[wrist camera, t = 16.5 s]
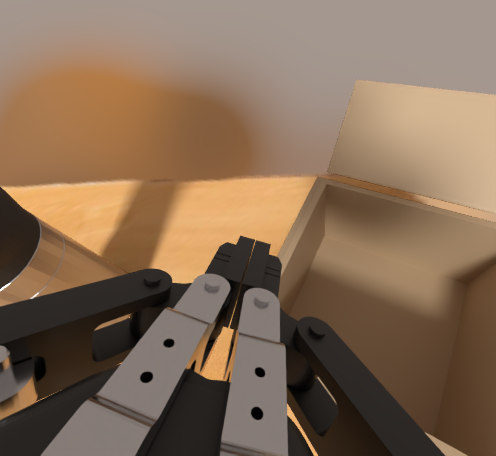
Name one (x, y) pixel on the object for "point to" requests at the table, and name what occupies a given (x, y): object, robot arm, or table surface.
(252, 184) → the table surface
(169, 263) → the table surface
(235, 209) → the table surface
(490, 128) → the carton flap
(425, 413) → the carton
